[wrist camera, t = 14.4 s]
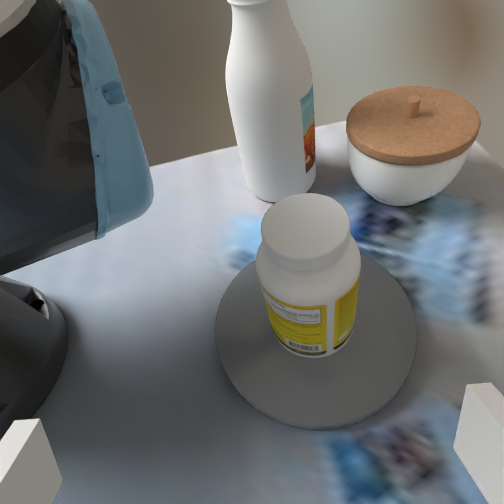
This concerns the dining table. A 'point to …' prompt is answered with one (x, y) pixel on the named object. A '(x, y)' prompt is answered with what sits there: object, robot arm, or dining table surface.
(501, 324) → the dining table surface
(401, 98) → the lidded jar
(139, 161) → the robot arm
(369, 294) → the slate plate
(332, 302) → the pill bottle
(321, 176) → the dining table surface
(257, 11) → the milk bottle
